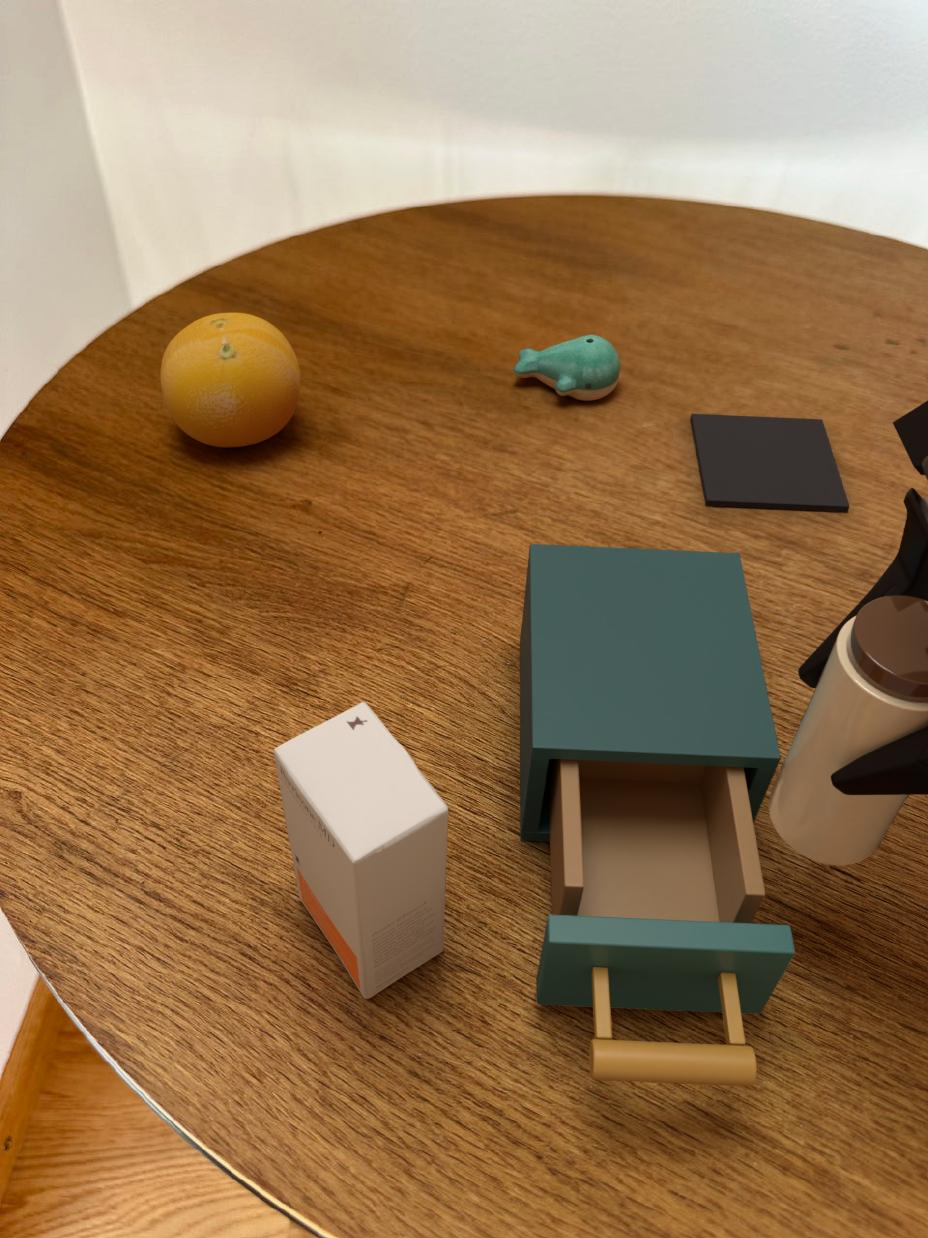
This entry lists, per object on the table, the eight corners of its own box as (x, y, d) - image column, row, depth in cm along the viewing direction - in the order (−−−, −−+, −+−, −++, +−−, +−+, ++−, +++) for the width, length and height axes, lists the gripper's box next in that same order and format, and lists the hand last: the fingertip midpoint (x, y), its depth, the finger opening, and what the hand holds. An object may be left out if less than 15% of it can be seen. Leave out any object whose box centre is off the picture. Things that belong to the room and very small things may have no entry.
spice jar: (867, 771, 46) (963, 590, 38) (895, 868, 43) (1006, 693, 34) (759, 767, 46) (832, 586, 38) (778, 864, 43) (862, 688, 34)
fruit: (189, 483, 68) (167, 377, 62) (159, 411, 73) (136, 306, 67) (321, 450, 71) (313, 345, 65) (284, 383, 76) (272, 279, 70)
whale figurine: (610, 416, 74) (617, 369, 71) (506, 398, 75) (509, 351, 72) (622, 369, 78) (629, 323, 75) (523, 352, 79) (527, 306, 76)
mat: (820, 424, 74) (822, 418, 74) (847, 512, 68) (849, 506, 68) (690, 418, 74) (691, 413, 74) (705, 505, 68) (707, 499, 68)
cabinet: (742, 851, 51) (781, 758, 46) (520, 841, 51) (532, 747, 46) (710, 651, 60) (739, 552, 54) (519, 642, 60) (529, 543, 54)
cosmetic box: (295, 899, 49) (268, 744, 40) (375, 853, 51) (365, 694, 42) (365, 1008, 46) (352, 864, 37) (448, 954, 47) (454, 805, 39)
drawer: (777, 1121, 42) (817, 1066, 38) (537, 1110, 42) (551, 1054, 38) (724, 784, 53) (751, 712, 49) (533, 776, 53) (543, 703, 49)
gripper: (1052, 170, 34) (652, 449, 42) (1425, 603, 21) (751, 886, 29) (1171, 380, 40) (802, 589, 48) (1516, 813, 27) (938, 1000, 35)
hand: (819, 730), depth 40 cm, fingers closed on spice jar, 4 cm apart
